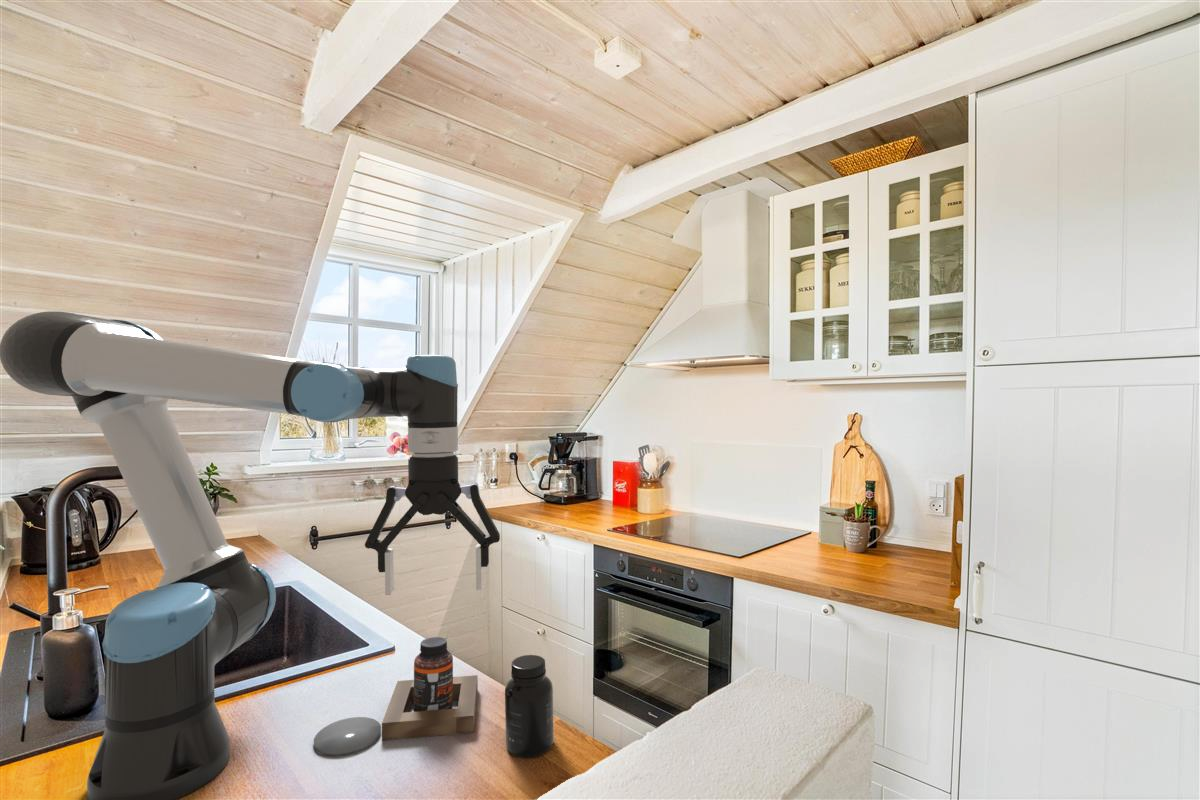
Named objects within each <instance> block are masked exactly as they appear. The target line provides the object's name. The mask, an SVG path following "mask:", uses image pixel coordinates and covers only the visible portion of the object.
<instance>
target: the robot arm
mask: <svg viewBox="0 0 1200 800" xmlns="http://www.w3.org/2000/svg"><path fill="white" fill-rule="evenodd" d="M0 363H1V365H2V367H3V369H4V371H5V372H6V374H7V375H8V376H9V377H10V378H11V379H12V380H13V381H14V382H16V383H17V384H18V385H20V386H21V387H23V388H25V389H27V390H30V391H31V392H35V393H38V394H42V395H43V394H44V395H49V396H59V397H60V396H61V397H72V400H73V402H74V404H75V405H76V408H77V410H78V412H79V415H80V417H81V419H84V420H87V421H90V422H93V423H96V424H97V425H98V426H99V428H100V430H101V432H102V434H103V437H104V438H105V441H106V443H107V445H108V447H109V450H110V451H111V454H112V457H113V459H114V461H115V463H116V465H117V468H118V470H119V472H120V474H121V476H122V479H123V481H124V483H125V485H126V488H127V490H128V492H129V495H130V497H131V499H132V501H133V503H134V505H135V507H136V510H137V512H138V515H139V517H140V519H141V522H142V524H143V526H144V527H145V530H146V533H147V535H148V536H149V539H150V541H151V544H152V545H153V548H154V549H155V553H156V554H157V557H158V559H159V562H160V563H161V566H162V568H163V570H164V571H163V575H162V576H161V579H160V581H159V582H158V585H157V586H156V587H155V588H153V589H151V590H150V589H149V590H147V589H146V590H143V591H140V592H138V593H136V594H134V595H132V596H129V597H127V598H126V599H124V600H123V601H121V602H120V603H118V604H117V605H116V606H115V607H113V609H112V610H111V611H110V612H109V613H108V616H107V618H106V621H105V628H104V637H103V641H102V645H101V646H102V650H103V651H102V652H103V655H104V663H103V664H104V715H105V716H104V723H105V724H104V732H103V735H102V737H101V740H100V742H99V745H98V749H97V751H96V754H95V755H94V758H93V759H94V760H93V762H92V764H91V767H90V770H89V773H88V776H87V779H86V780H87V781H86V799H87V800H177V799H179V798H182V797H185V796H186V795H188V794H190V793H192V792H194V791H196V790H198V789H199V788H201V787H203V786H205V785H206V784H207V783H209V782H211V781H212V780H213V779H214V778H215V777H216V776H217V775H219V774H220V773H221V772H222V771H223V770H224V769H225V767H226V766H227V764H228V762H229V761H230V757H231V756H230V755H231V754H230V753H231V752H230V751H231V750H230V749H231V748H230V747H231V745H230V742H231V741H230V740H231V739H230V736H229V733H228V730H227V729H226V726H225V724H224V721H223V719H222V716H221V714H220V712H219V709H218V708H217V704H216V701H215V666H216V664H217V663H219V662H220V661H221V660H223V659H224V658H225V657H227V656H228V655H229V654H230V653H232V652H233V651H235V650H236V649H237V648H239V647H240V646H241V645H242V644H245V643H247V642H248V641H250V640H251V639H253V638H254V637H255V636H256V635H257V633H259V631H260V630H261V629H262V628H263V627H264V626H265V624H267V622H268V621H269V619H270V617H271V616H272V613H273V611H274V609H275V607H276V599H277V597H276V596H277V593H276V587H275V584H274V581H273V579H272V577H271V576H270V575H269V573H268V572H267V571H266V570H265V569H264V568H262V567H260V566H257V565H255V564H253V563H251V562H249V560H248V559H247V556H246V553H245V552H244V550H243V548H241V547H238V546H234V545H231V544H229V543H228V542H227V540H226V537H225V535H224V533H223V530H222V527H221V526H220V524H219V522H218V519H217V517H216V514H215V512H214V510H213V508H212V505H211V504H210V501H209V499H208V497H207V495H206V492H205V490H204V488H203V486H202V483H201V481H200V479H199V476H198V474H197V472H196V470H195V467H194V465H193V463H192V461H191V458H190V456H189V454H188V451H187V450H186V448H185V445H184V442H183V440H182V438H181V436H180V434H179V432H178V429H177V427H176V425H175V422H174V420H173V417H172V416H171V412H170V411H169V409H168V407H167V403H168V401H169V400H177V401H185V402H190V403H191V402H193V403H199V404H207V405H215V406H224V407H231V408H238V409H246V410H255V411H261V412H268V413H275V414H276V413H278V414H285V415H291V416H293V415H294V416H297V417H303V418H304V417H305V418H307V419H309V420H311V421H315V422H321V423H338V422H342V421H346V420H354V419H364V418H385V417H386V418H387V417H389V418H390V417H395V418H396V417H398V418H400V417H401V418H402V417H407V452H409V454H411V456H409V458H408V460H407V464H408V466H407V467H408V471H407V473H408V475H407V477H408V482H407V487H399V486H397V485H395V484H393V485H391V486H390V487H388V488H387V490H386V494H385V495H386V496H385V503H384V505H383V507H382V508H381V511H380V513H379V515H378V517H377V518H376V520H375V522H374V524H373V526H372V529H371V531H370V532H369V534H368V536H367V538H366V540H365V543H364V547H365V548H366V549H368V550H369V549H371V550H375V551H376V553H377V571H378V573H384V582H385V583H384V585H385V586H384V587H385V588H384V589H385V590H384V593H385V594H384V596H391V595H392V593H393V592H394V590H395V589H394V588H395V587H394V583H395V582H394V580H395V579H394V548H392V547H391V548H389V546H390V545H391V544H392V542H393V541H394V540H395V539H396V538H397V536H398V535H399V534H400V533H401V532H402V530H403V529H404V528H405V527H406V526H407V525H408V523H410V522H411V520H412V518H413V517H414V516H415V515H416V514H417V512H418V513H419V514H421V515H423V516H429V515H433V514H434V515H439V516H440V515H444V514H446V513H448V512H449V513H450V515H451V516H452V517H454V518H455V519H456V520H457V521H458V522H459V523H460V524H461V526H462V527H463V528H464V529H465V530H466V531H467V532H468V533H469V534H470V536H471V537H472V538H473V539H474V540H475V541H476V542H477V543H476V545H475V575H476V576H475V580H476V581H475V582H476V583H475V587H476V589H475V590H476V591H481V590H482V586H483V585H482V584H483V583H482V582H483V576H482V575H483V574H482V573H483V572H482V569H483V568H486V567H488V566H489V563H490V562H489V561H490V560H489V559H490V554H489V553H490V550H489V548H490V546H491V545H492V544H495V543H499V542H500V540H501V533H500V532H499V530H498V529H497V526H496V524H495V522H494V521H493V519H492V516H491V515H490V513H489V511H488V509H487V507H486V505H485V504H484V501H483V499H482V497H481V495H480V494H481V493H480V488H479V484H478V483H477V482H472V483H471V484H468V485H461V484H460V482H459V457H458V456H457V454H455V453H456V452H457V451H458V450H459V435H458V434H459V426H458V391H459V389H458V387H459V383H458V377H457V363H456V361H455V359H454V358H453V357H452V356H449V355H440V354H439V355H438V354H422V355H421V354H420V355H419V354H418V355H417V354H415V355H411V356H408V357H407V360H406V364H405V367H402V368H367V367H366V368H364V367H358V366H356V367H355V366H348V365H343V364H339V363H333V362H320V361H313V360H304V359H298V358H292V357H285V356H278V355H272V354H271V355H269V354H263V353H257V352H256V353H255V352H249V351H241V350H236V349H228V348H221V347H214V346H213V347H212V346H206V345H199V344H193V343H185V342H184V343H183V342H177V341H170V340H164V339H163V338H162V337H161V336H160V335H159V334H157V333H156V332H154V331H153V330H152V329H150V328H148V327H145V326H144V325H143V326H142V325H140V324H136V323H134V322H130V321H127V320H123V319H109V318H108V319H106V318H101V317H96V316H90V315H85V314H84V315H83V314H78V313H74V312H67V311H66V312H65V311H56V310H55V311H51V310H49V311H41V312H40V311H39V312H36V313H33V314H29V315H26V316H25V317H22V318H21V319H18V320H17V321H16V322H14V323H13V324H12V325H10V327H8V328H7V329H6V331H5V333H4V334H3V335H2V338H1V341H0ZM461 494H464V495H465V497H466V498H467V499H468V500H470V499H471V502H472V504H473V507H474V508H475V510H476V512H477V515H478V517H479V518H480V520H481V522H482V523H483V525H484V528H485V529H486V531H487V533H488V535H486V534H485V533H484V531H482V529H481V528H480V527H479V526H478V525H477V524H476V523H475V522H474V520H473V519H471V517H470V516H469V515H468V514H467V513H466V512H465V511H464V510H463V508H462V507H461V505H460V504H459V503H458V502H457V500H458V499H459V497H460V496H461ZM403 496H405V498H407V500H408V501H409V502H410V504H411V506H410V507H409V509H408V510H407V511H406V512H405V513H404V514H403V516H402V517H401V518H400V519H399V521H398V522H397V523H396V524H395V525H394V526H393V527H392V529H391V530H390V531H389V532H388V533H387V535H386V536H385V537H384V538H383V540H381V539H379V537H380V536H381V533H382V531H383V530H384V527H385V525H386V523H387V521H388V519H389V518H390V515H391V513H392V512H393V509H394V508H395V505H396V502H399V501H400V500H401V499H402V497H403Z"/></svg>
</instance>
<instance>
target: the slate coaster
mask: <svg viewBox="0 0 1200 800" xmlns="http://www.w3.org/2000/svg"><path fill="white" fill-rule="evenodd" d="M381 735H382V724H381V723H380V722H379V721H378V720H377V719H375V718H371V717H366V716H355V717H354V716H353V717H348V718H344V719H339V720H336V721H333V722H331V723H330V724H327V725H326V726H324V727H323V728H322V729H320V730H319V731H318V732H317V733H316V735H315V736H314V739H313V747H314V750H315V751H316V752H317V753H319V754H321V755H324V756H328V757H342V756H343V757H344V756H348V755H353V754H355V753H358V752H361V751H363V750H365V749H367V748H369V747H371V746H372V745H373V744H376V742H377V741H378V739H379V738H380V737H381Z"/></svg>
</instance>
